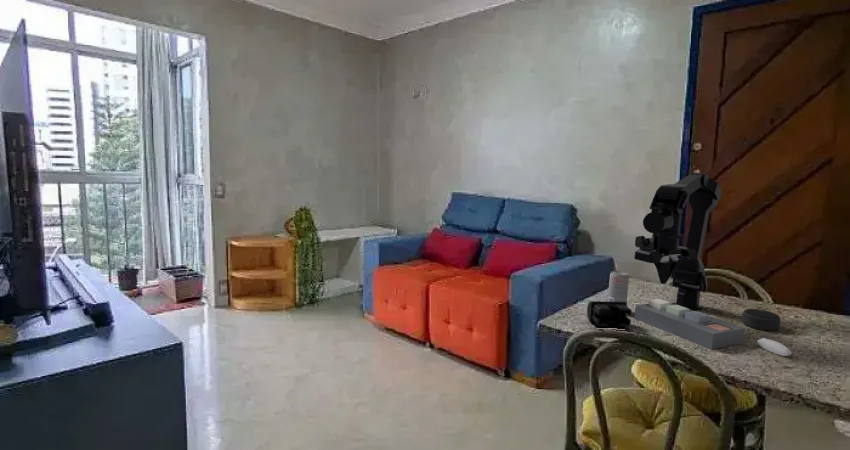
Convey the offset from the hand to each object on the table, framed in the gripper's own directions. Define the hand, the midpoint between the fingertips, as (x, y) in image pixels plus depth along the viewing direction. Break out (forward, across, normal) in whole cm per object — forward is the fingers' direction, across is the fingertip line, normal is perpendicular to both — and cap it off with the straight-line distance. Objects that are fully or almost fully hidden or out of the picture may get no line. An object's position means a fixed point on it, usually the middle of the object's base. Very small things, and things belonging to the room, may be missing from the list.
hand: (663, 283), depth 138 cm
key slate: (+8, 0, +12) cm, 14 cm away
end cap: (+11, +18, -2) cm, 21 cm away
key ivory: (+8, 0, 0) cm, 8 cm away
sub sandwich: (+11, -7, +27) cm, 30 cm away
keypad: (+11, 0, +9) cm, 14 cm away
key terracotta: (+9, 0, +18) cm, 20 cm away
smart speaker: (+11, -24, +14) cm, 30 cm away
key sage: (+8, 0, +6) cm, 10 cm away
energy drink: (+11, +6, -10) cm, 16 cm away
